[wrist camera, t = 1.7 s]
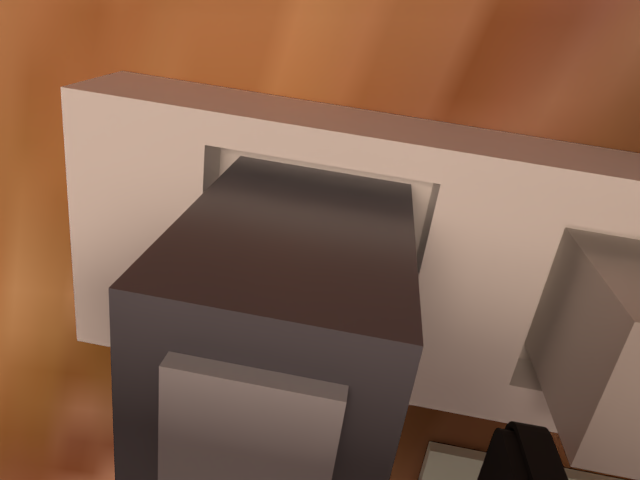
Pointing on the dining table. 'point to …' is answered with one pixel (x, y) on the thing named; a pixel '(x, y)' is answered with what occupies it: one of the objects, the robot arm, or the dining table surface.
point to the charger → (269, 331)
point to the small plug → (592, 350)
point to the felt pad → (471, 465)
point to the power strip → (363, 160)
